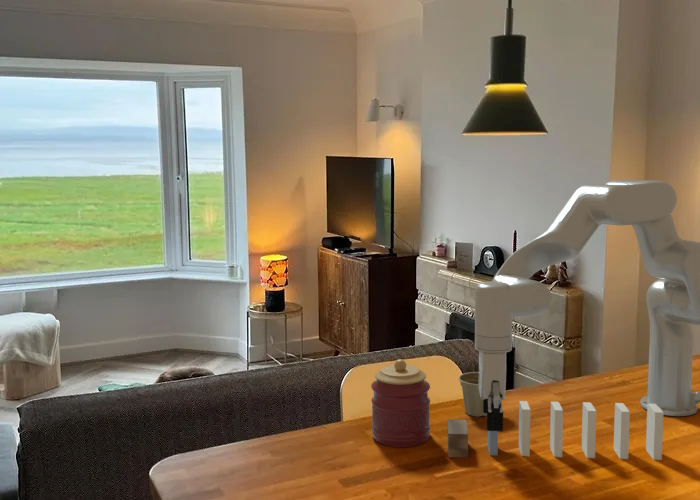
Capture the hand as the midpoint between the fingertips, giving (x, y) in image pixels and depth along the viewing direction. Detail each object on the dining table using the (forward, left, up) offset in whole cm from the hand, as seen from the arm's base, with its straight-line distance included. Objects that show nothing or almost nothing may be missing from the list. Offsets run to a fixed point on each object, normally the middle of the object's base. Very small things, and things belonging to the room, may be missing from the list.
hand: (492, 421), depth 145 cm
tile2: (-26, 0, -6) cm, 27 cm away
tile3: (-20, 0, -6) cm, 20 cm away
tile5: (-6, 0, -6) cm, 9 cm away
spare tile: (0, 0, -6) cm, 6 cm away
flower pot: (+2, -22, -6) cm, 23 cm away
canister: (+20, -6, -6) cm, 21 cm away
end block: (+7, 0, -6) cm, 10 cm away
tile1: (-32, 0, -6) cm, 33 cm away
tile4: (-13, 0, -6) cm, 14 cm away
